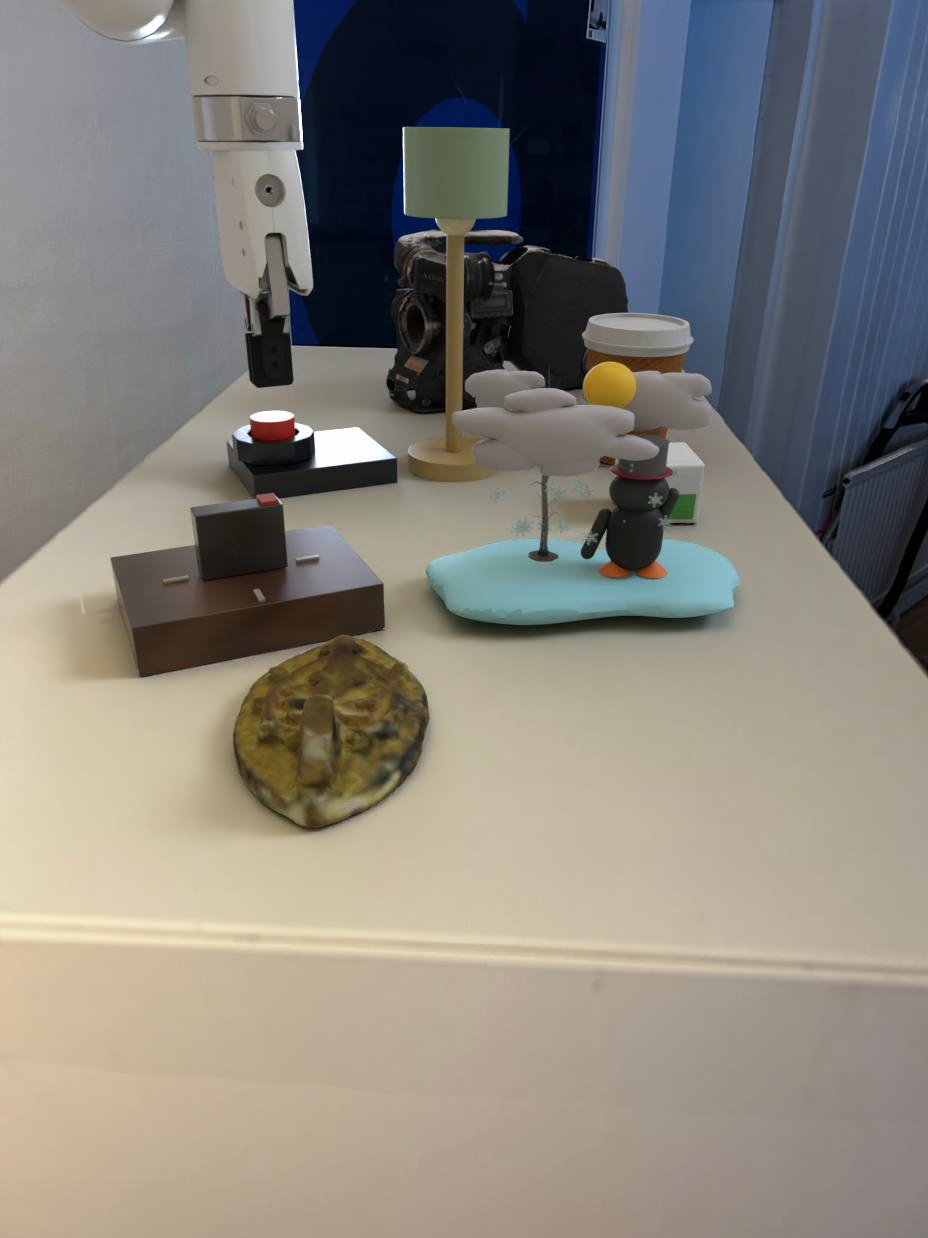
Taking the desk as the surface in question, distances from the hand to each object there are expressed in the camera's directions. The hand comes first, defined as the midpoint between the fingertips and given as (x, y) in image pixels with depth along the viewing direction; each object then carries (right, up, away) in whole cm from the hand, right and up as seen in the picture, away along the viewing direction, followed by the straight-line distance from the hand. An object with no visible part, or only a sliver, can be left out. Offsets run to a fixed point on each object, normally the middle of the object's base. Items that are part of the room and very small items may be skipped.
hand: (271, 383), depth 75 cm
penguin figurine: (+23, -18, -16) cm, 33 cm away
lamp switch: (0, -4, +2) cm, 4 cm away
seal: (+9, -25, -29) cm, 39 cm away
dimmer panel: (+2, -19, -19) cm, 27 cm away
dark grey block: (+2, -16, -20) cm, 26 cm away
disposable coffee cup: (+30, -4, +11) cm, 32 cm away
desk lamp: (+15, -6, +7) cm, 17 cm away
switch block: (+2, -7, +5) cm, 8 cm away
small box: (+30, -11, -2) cm, 32 cm away
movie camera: (+20, +6, +29) cm, 36 cm away
